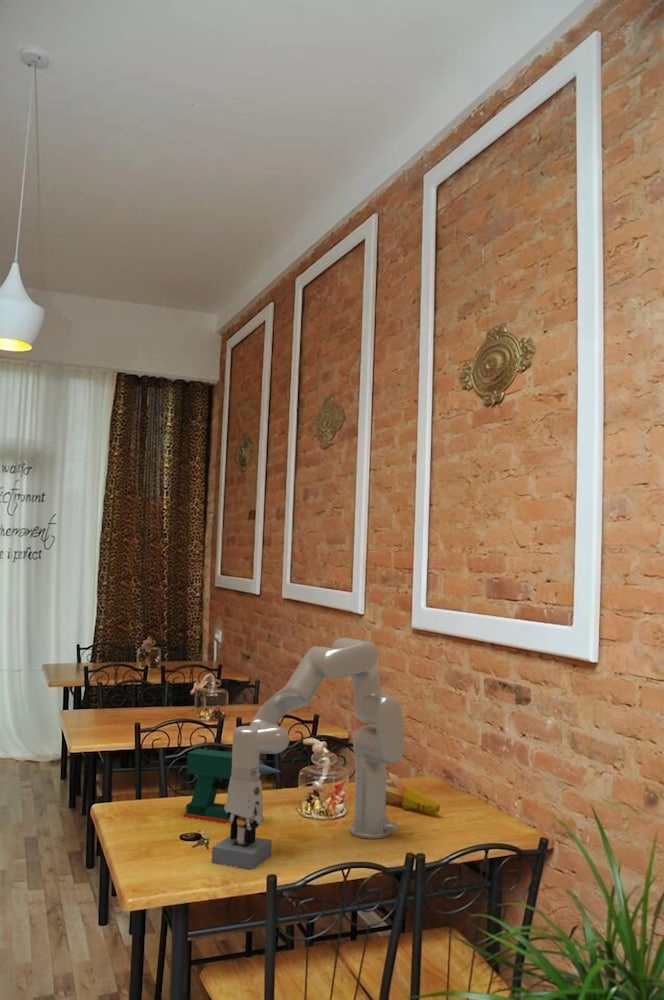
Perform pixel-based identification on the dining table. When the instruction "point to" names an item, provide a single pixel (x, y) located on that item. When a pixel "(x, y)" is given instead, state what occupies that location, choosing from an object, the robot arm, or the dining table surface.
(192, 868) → the dining table surface
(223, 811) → the power tool
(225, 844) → the block
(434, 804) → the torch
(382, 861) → the dining table surface
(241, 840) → the copper capped vial
